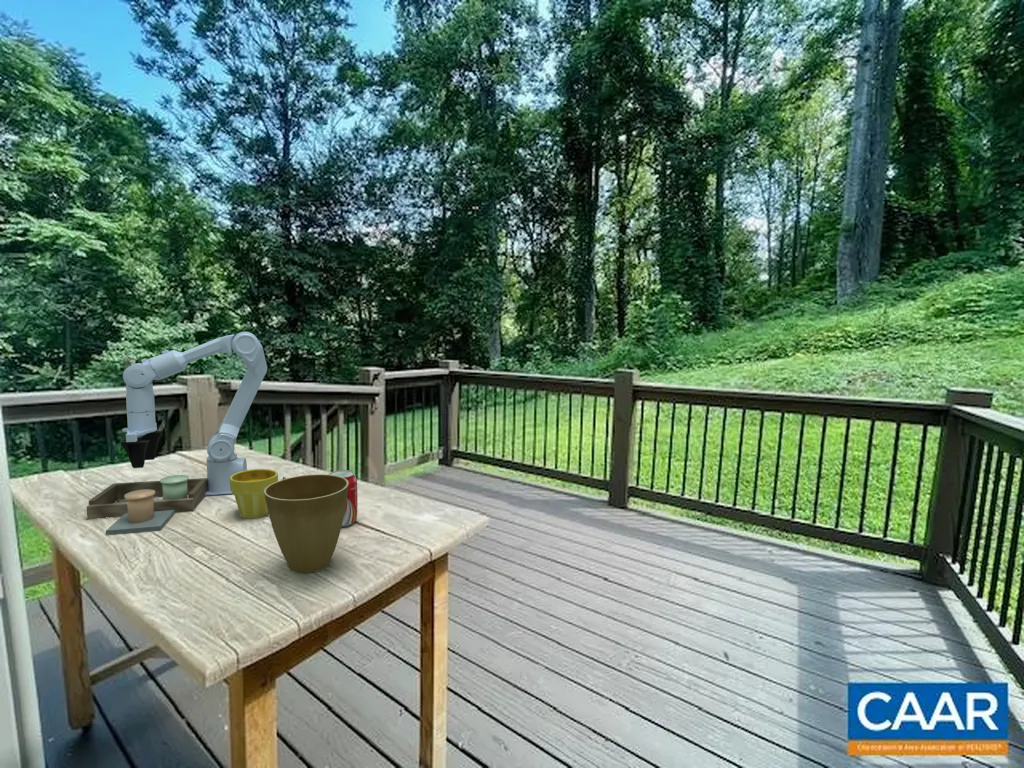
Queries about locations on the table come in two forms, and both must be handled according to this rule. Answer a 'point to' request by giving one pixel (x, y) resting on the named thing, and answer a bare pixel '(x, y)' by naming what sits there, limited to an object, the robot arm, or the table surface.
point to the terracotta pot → (140, 505)
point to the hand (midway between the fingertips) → (143, 463)
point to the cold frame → (105, 500)
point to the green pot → (174, 487)
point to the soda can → (349, 496)
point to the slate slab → (151, 525)
